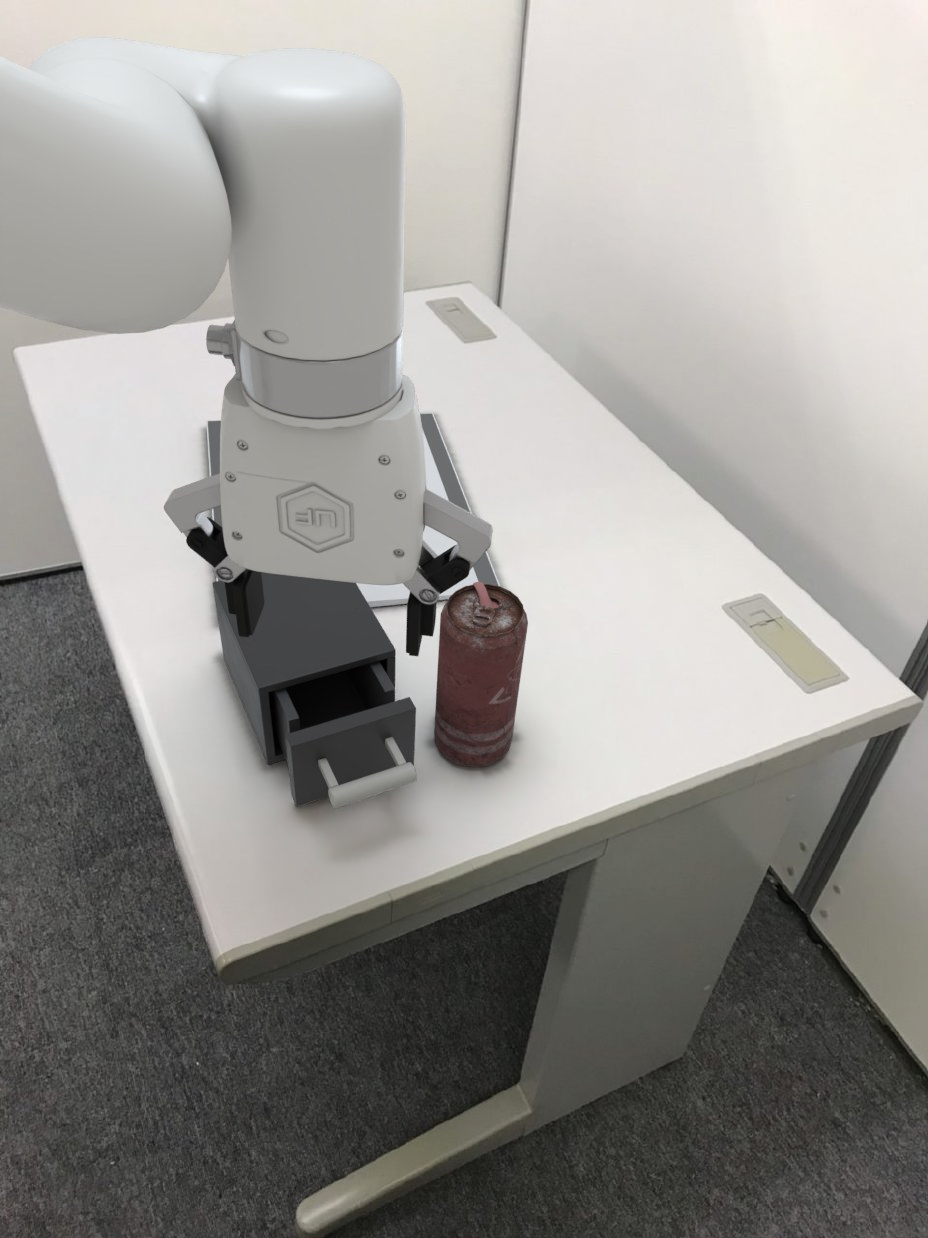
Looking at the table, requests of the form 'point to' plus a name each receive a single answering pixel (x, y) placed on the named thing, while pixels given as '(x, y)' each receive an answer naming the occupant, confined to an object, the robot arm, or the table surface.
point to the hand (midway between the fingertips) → (333, 630)
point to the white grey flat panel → (448, 487)
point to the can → (479, 673)
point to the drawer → (345, 735)
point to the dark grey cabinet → (298, 643)
